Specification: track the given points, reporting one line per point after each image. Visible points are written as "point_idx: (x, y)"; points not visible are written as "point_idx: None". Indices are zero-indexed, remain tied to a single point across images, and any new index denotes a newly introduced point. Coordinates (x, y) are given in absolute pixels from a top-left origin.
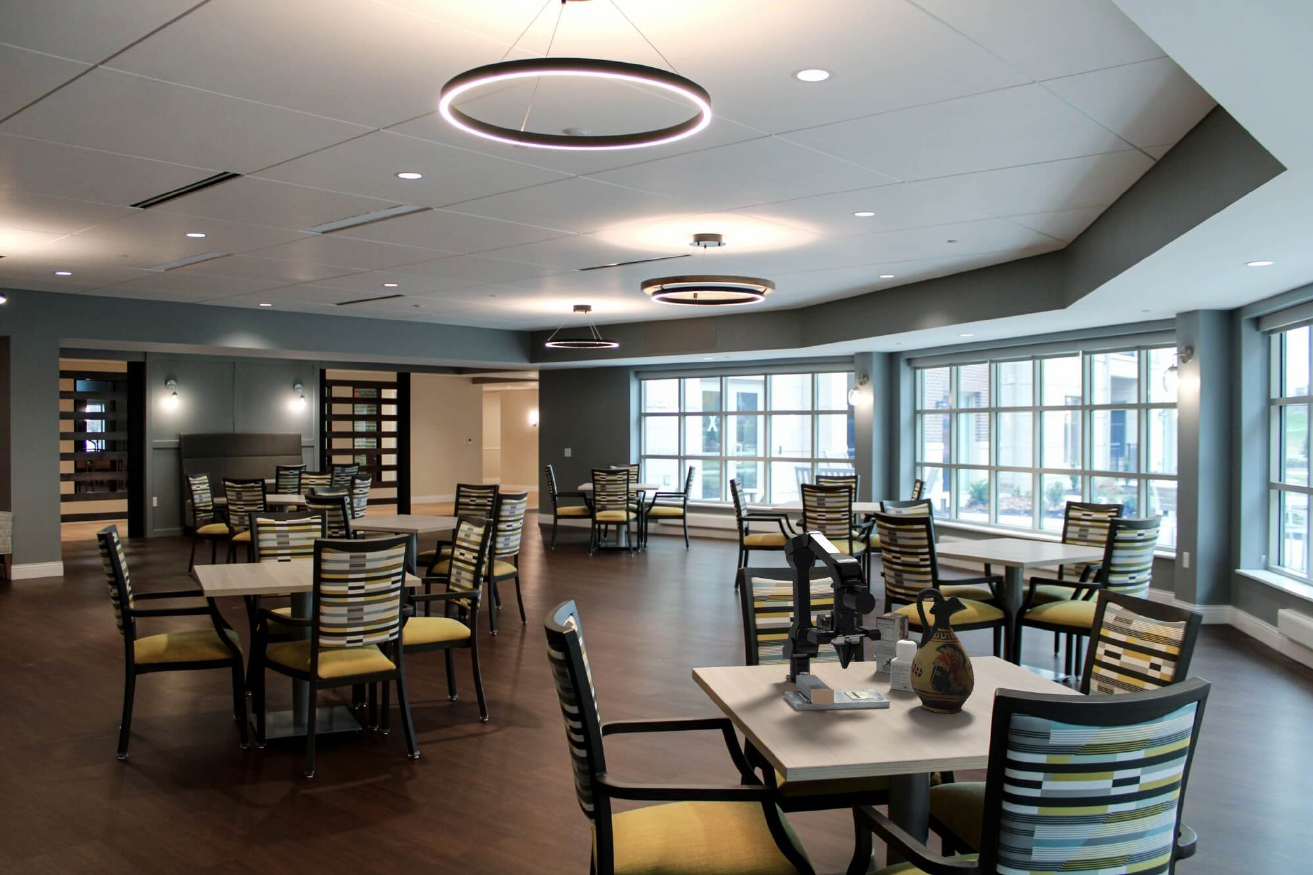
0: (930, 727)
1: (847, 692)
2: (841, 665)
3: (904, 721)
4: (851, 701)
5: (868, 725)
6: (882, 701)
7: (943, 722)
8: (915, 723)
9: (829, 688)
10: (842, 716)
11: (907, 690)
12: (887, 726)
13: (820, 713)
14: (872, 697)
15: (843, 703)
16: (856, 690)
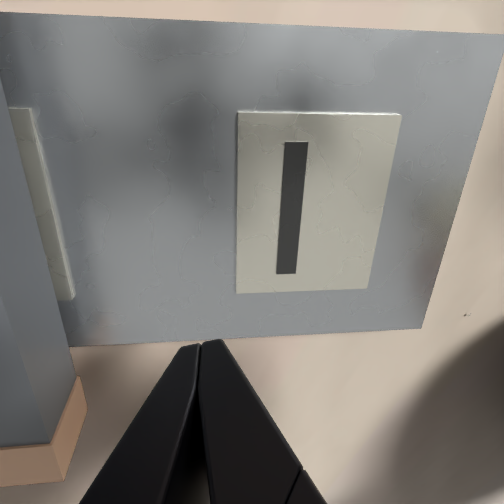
0: (397, 501)
1: (257, 139)
2: (168, 373)
3: (353, 460)
4: (215, 323)
5: None
6: (383, 329)
7: (471, 465)
8: (376, 475)
9: (38, 435)
10: (130, 417)
11: None
12: None
13: None
14: (366, 273)
15: (162, 338)
16: (358, 61)
